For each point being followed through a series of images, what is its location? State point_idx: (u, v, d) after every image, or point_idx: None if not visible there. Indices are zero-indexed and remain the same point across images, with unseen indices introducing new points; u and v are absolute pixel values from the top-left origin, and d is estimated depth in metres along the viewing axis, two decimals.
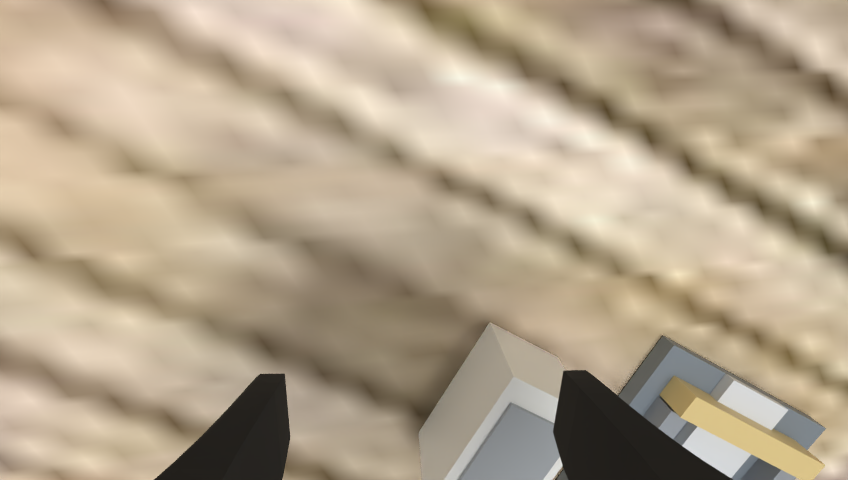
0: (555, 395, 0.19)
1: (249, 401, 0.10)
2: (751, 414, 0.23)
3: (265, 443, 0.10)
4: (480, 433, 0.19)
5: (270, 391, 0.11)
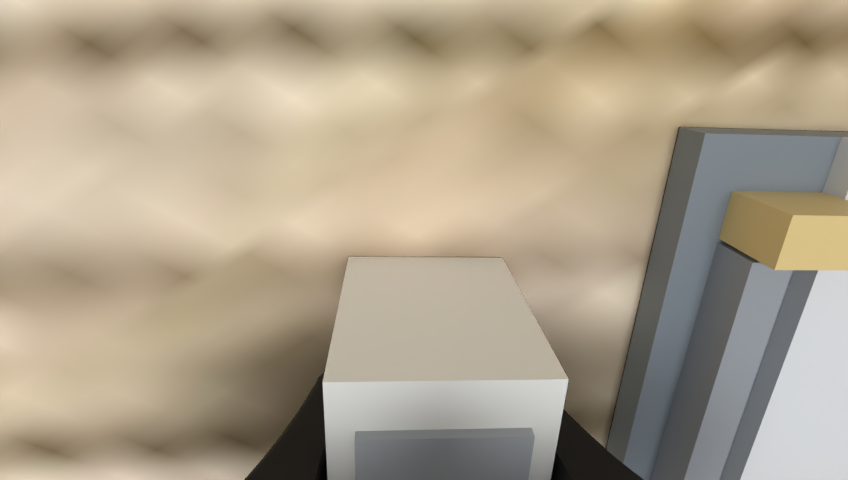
0: (449, 372, 0.08)
1: (321, 400, 0.10)
2: None
3: None
4: None
5: None
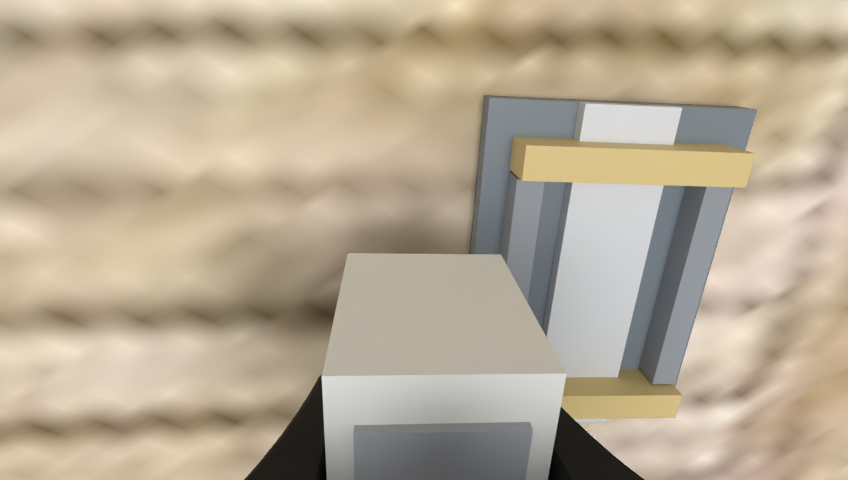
0: (448, 366, 0.08)
1: (321, 400, 0.10)
2: (634, 136, 0.17)
3: None
4: None
5: None
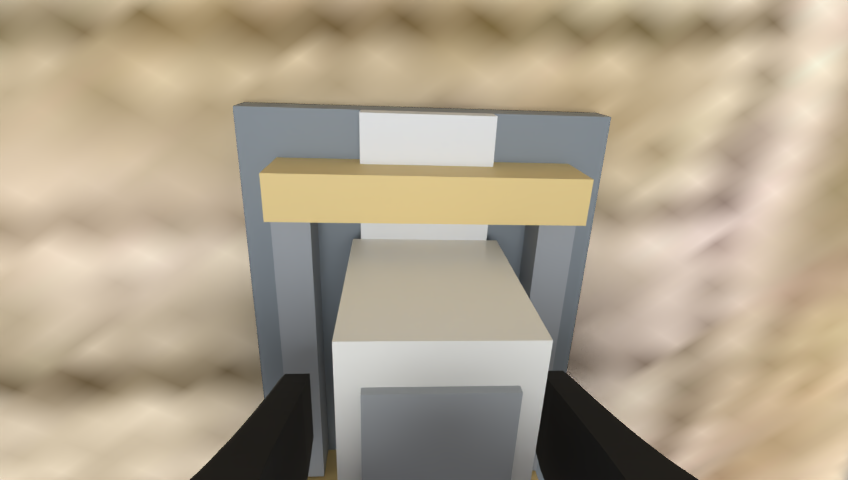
0: (445, 334, 0.09)
1: (278, 400, 0.10)
2: (436, 156, 0.12)
3: (294, 442, 0.10)
4: (347, 461, 0.09)
5: (298, 391, 0.11)
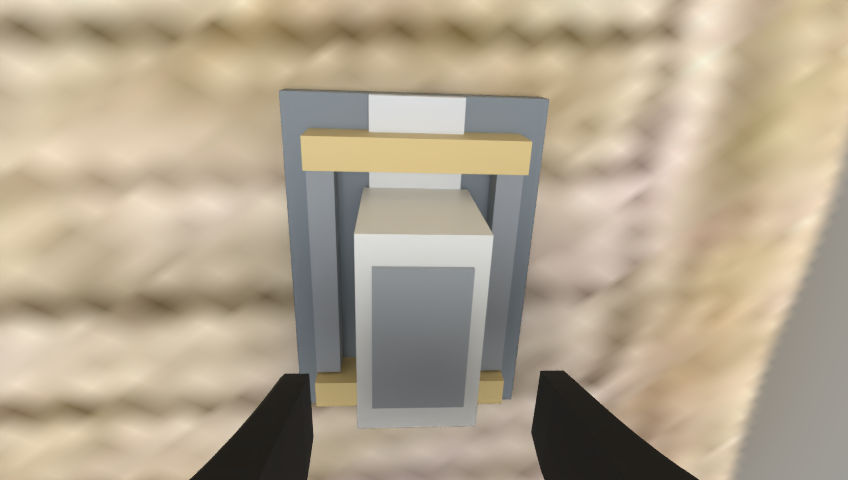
0: (425, 232, 0.14)
1: (278, 401, 0.10)
2: (423, 127, 0.17)
3: (294, 442, 0.10)
4: (362, 319, 0.14)
5: (297, 391, 0.11)
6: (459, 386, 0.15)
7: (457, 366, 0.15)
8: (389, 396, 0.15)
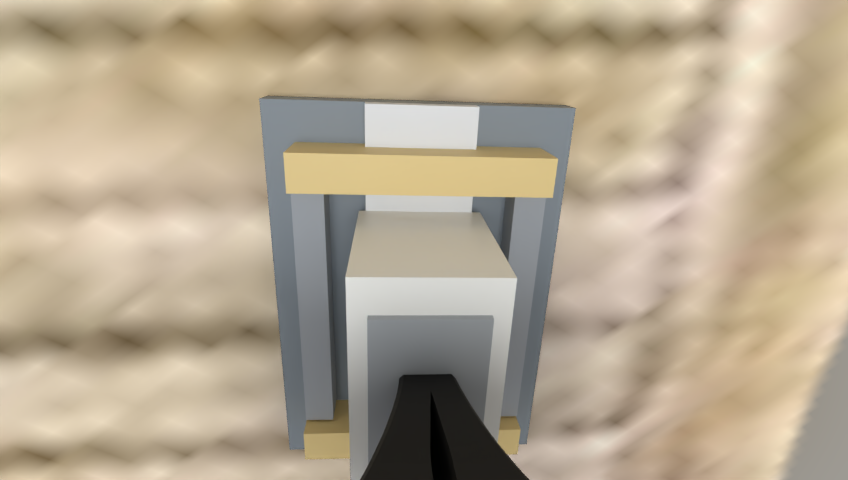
0: (433, 273, 0.11)
1: (412, 398, 0.10)
2: (428, 140, 0.15)
3: None
4: (356, 377, 0.12)
5: (426, 389, 0.11)
6: None
7: None
8: None
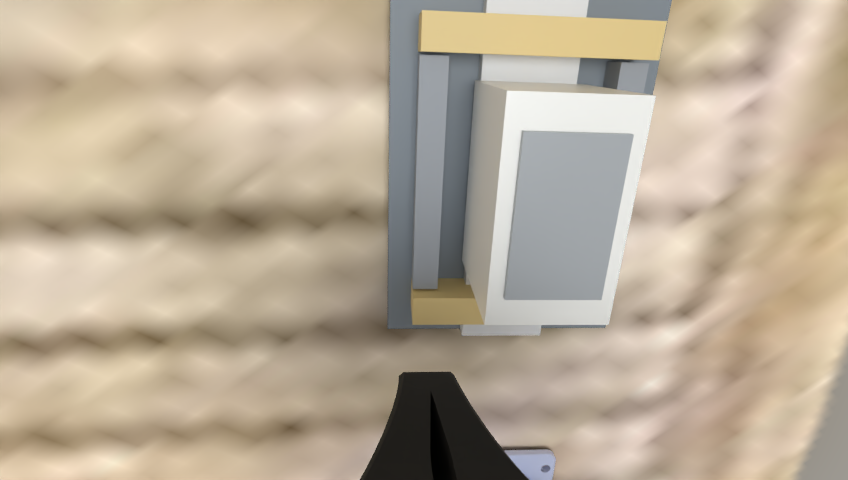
0: (581, 92, 0.13)
1: (412, 398, 0.10)
2: (543, 10, 0.16)
3: None
4: (504, 194, 0.13)
5: (426, 389, 0.11)
6: (599, 275, 0.14)
7: (601, 251, 0.14)
8: (524, 285, 0.14)
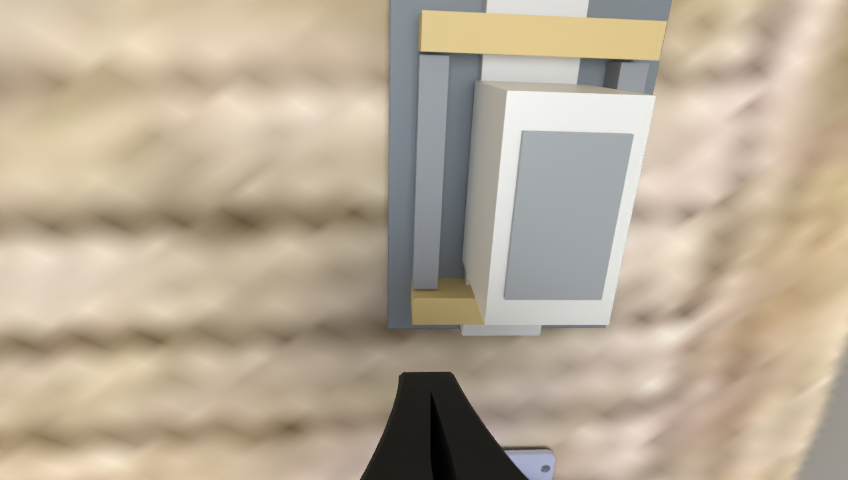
0: (581, 92, 0.13)
1: (412, 398, 0.10)
2: (543, 10, 0.16)
3: None
4: (504, 194, 0.13)
5: (426, 389, 0.11)
6: (599, 275, 0.14)
7: (601, 251, 0.14)
8: (524, 285, 0.14)
